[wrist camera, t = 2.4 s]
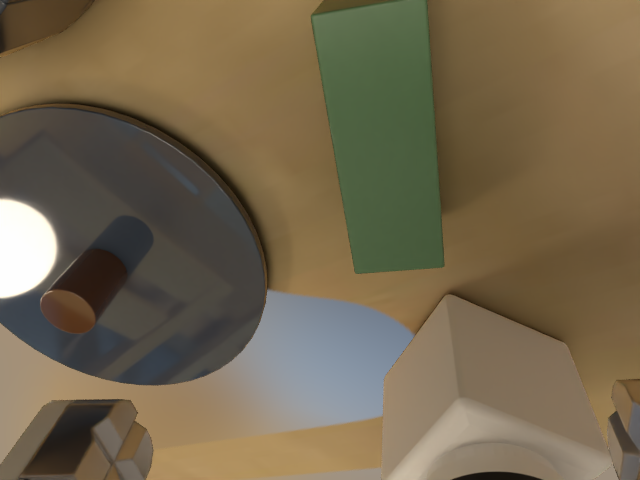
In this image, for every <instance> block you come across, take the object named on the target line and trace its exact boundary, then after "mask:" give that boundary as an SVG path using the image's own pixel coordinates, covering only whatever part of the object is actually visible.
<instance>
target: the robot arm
mask: <svg viewBox="0 0 640 480" xmlns="http://www.w3.org/2000/svg"><path fill="white" fill-rule="evenodd" d="M611 398H612V400H613V403H614V405H615V407H616V410H617V411H616V412H614V413H613V414H612V415H611V416H610V417H609V418H608V428H607V436H608V445H609V452H610V455H611V459H612V462H613V466H614V468H615V471H616V473H617V476H618V478H619V480H640V379H626V380H616V382H615V384H614V385H613V389H612V396H611ZM137 414H138V412H137V410H136V409H135V407H134V405H133V403H132V402H131V400H123V399H112V400H58V401H57V400H53V401H51V402H49V403H47V404H46V405H44V406H43V407H42V408H41V410H40V411H39V412H38V414H37V415H36V416H35V418H34V419H33V421H32V422H31V423H30V425H29V426H28V427H27V429H26V430H25V432H24V433H23V434H22V436H21V437H20V439H19V440H18V441H17V442H16V444H15V445H14V447H13V448H12V449H11V451H10V452H9V453H8V455H7V456H6V458H5V459H4V460H3V462H2V463H1V464H0V480H146V478H147V475H148V473H149V471H150V468H151V464H152V456H153V445H152V440H151V437H150V435H149V433H148V431H147V429H146V428H144V427H143V426H141V425H140V424H139V423H137V422H136V421H135V419H136V416H137Z"/></svg>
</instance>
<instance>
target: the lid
mask: <svg viewBox="0 0 640 480" xmlns="http://www.w3.org/2000/svg"><path fill="white" fill-rule="evenodd" d="M266 295H267V268H266V263H265V258H264V253H263V249H262V246H261V243H260V241H259V238H258V235H257V232H256V230H255V228H254V226H253V224H252V222H251V220H250V218H249V216H248V214H247V212H246V210H245V209H244V208H243V206H242V205H241V203H240V202H239V200H238V199H237V197H236V196H235V194H234V193H233V192H232V190H231V189H230V188H229V187H228V186H227V185H226V183H225V182H224V181H223V180H222V179H221V178H220V176H219V175H218V174H217V173H216V172H215V171H214V170H212V169H211V168H210V167H209V166H208V165H207V164H206V163H205V162H204V161H203V160H202V159H201V158H200V157H198V156H197V155H196V154H194V153H193V152H192V151H190V150H189V149H188V148H186V147H185V146H184V145H182V144H181V143H180V142H178V141H176V140H175V139H173V138H171V137H170V136H168V135H166V134H165V133H163V132H161V131H159V130H158V129H156V128H154V127H152V126H149V125H147V124H145V123H143V122H141V121H138V120H136V119H134V118H132V117H128V116H125V115H122V114H119V113H116V112H113V111H110V110H106V109H101V108H96V107H90V106H85V105H76V104H60V103H56V104H43V105H33V106H29V107H25V108H21V109H17V110H13V111H11V112H8V113H6V114H4V115H1V116H0V323H1V324H2V325H3V326H4V327H6V328H7V329H8V330H9V331H11V332H12V333H13V334H14V335H15V336H17V337H18V338H19V339H21V340H22V341H24V342H25V343H26V344H28V345H29V346H31V347H32V348H34V349H35V350H37V351H39V352H41V353H42V354H44V355H46V356H47V357H49V358H51V359H53V360H55V361H57V362H59V363H61V364H63V365H65V366H67V367H69V368H72V369H75V370H77V371H80V372H82V373H85V374H88V375H91V376H95V377H98V378H101V379H105V380H110V381H115V382H120V383H126V384H136V385H169V384H177V383H182V382H186V381H191V380H194V379H197V378H200V377H204V376H206V375H208V374H210V373H212V372H214V371H216V370H218V369H220V368H221V367H223V366H224V365H226V364H227V363H229V362H230V361H232V360H233V359H234V358H235V357H236V356H237V355H238V354H239V353H240V352H241V351H242V350H243V349H244V348H245V347H246V345H247V344H248V342H249V341H250V340H251V339H252V337H253V335H254V333H255V331H256V329H257V327H258V325H259V323H260V320H261V316H262V313H263V310H264V307H265V303H266Z"/></svg>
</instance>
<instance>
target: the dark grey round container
mask: <svg viewBox="0 0 640 480" xmlns="http://www.w3.org/2000/svg"><path fill="white" fill-rule="evenodd" d="M93 2H94V0H0V58H1V57H3V56H6V55H9V54H12V53H14V52H17V51H19V50H21V49H24V48H26V47H28V46H31V45H33V44H35V43H38V42H41V41H43V40H45V39H47V38H49V37H51V36H54V35H56V34H58V33H61V32H63V31H64V30H66V29H67V28H68V26H69V25H70V24H72V23H73V22H75V21H76V20H77V19H78V18H79V17H80V16H81V15H82V14H83V13H84V12H85V11H86V10H87V9H88V8H89V7H90V6H91V4H92V3H93Z"/></svg>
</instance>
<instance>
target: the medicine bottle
mask: <svg viewBox="0 0 640 480" xmlns="http://www.w3.org/2000/svg"><path fill="white" fill-rule="evenodd" d="M383 399H384V400H383V435H382V474H381V480H594V479H595V478H597V477H598V476H599V475H600V474H602V473H603V472H604V471H606V470H607V469H608V468H609V467H610V466H611V465H612V459H611V455H610V452H609V449H608V447H607V444H606V442H605V439H604V437H603V434H602V432H601V429H600V427H599V424H598V421H597V419H596V416H595V414H594V411H593V409H592V406H591V404H590V401H589V399H588V396H587V394H586V391H585V389H584V386H583V384H582V381H581V379H580V376H579V374H578V371H577V369H576V366H575V364H574V361H573V359H572V356H571V354H570V351H569V348H568V346H567V345H566V344H565V343H563V342H561V341H559V340H556V339H554V338H552V337H550V336H547V335H545V334H543V333H540V332H538V331H536V330H533V329H531V328H529V327H526V326H524V325H522V324H519V323H517V322H515V321H512V320H510V319H508V318H505V317H503V316H501V315H498V314H496V313H494V312H491V311H489V310H487V309H484V308H482V307H480V306H477V305H475V304H473V303H470V302H468V301H466V300H463V299H461V298H459V297H456V296H454V295H450V294H449V295H446V296H444V297H443V299H442V300H441V301H440V303H439V304H438V305H437V307H436V308H435V310H434V311H433V312H432V314H431V315H430V316H429V318H428V319H427V320H426V322H425V323H424V324H423V326H422V327H421V328H420V330H419V331H418V333H417V334H416V335H415V337H414V338H413V339H412V341H411V342H410V343H409V345H408V346H407V348H406V349H405V350H404V351H403V353H402V354H401V356H400V357H399V358H398V360H397V361H396V362H395V364H394V365H393V366H392V368H391V369H390V370H389V372H388V373H387V375H386V376H385V379H384V398H383Z"/></svg>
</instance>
